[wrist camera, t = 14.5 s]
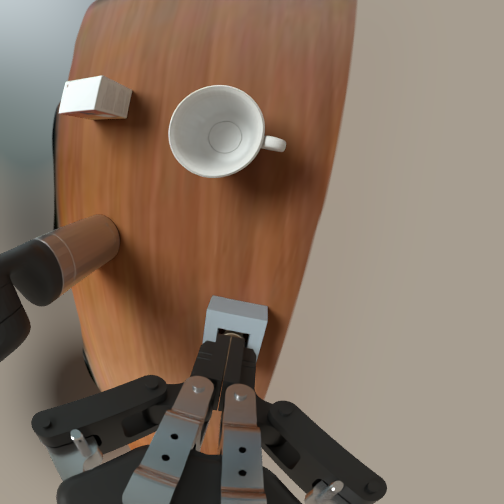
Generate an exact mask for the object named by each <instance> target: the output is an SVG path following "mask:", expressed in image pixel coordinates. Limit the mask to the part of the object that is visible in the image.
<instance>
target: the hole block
mask: <svg viewBox="0 0 504 504" xmlns="http://www.w3.org/2000/svg"><path fill="white" fill-rule="evenodd" d="M267 322H268V306H263V305H258V304H253V303H247V302H242V301H237V300H233V299H228V298H223V297H218V296H213V295H212V298H211V300H210V303H209V305H208V308H207V313H206V320H205V328H204V336H203V343H204V342H205V341H207V340H208V341H212V342H216V338H217V335H218V334H219V328H222V329H226V330H231V331H236V332H241V333H247V334H248V338H247V342H245V343H244V347H245V348H250V349H253V350H254V352H255V354H256V362H257V358H258V354H259V351H260V347H261V344H262V340H263V336H264V333H265V329H266V325H267Z"/></svg>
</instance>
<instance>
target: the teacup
mask: <svg viewBox="0 0 504 504" xmlns="http://www.w3.org/2000/svg"><path fill="white" fill-rule="evenodd" d="M264 134H265V124H264V118H263V115H262V112H261V110H260V108H259V107H258V105H257V104H256V102H255V101H254V100H253V99H252V98H251V97H250V96H249V95H247V94H246V93H245V92H243V91H241V90H239V89H237V88H234V87H231V86H225V85H214V86H208V87H204V88H201V89H199V90H197V91H195V92H193V93H191V94H190V95H188V96H187V97H186V98H185V99H184V100H183V101H182V102H181V103H180V104H179V105H178V106H177V108H176V110H175V111H174V113H173V116H172V118H171V121H170V125H169V143H170V147H171V150H172V152H173V154H174V156H175V158H176V159H177V160H178V162H179V163H180V164H181V165H182V166H183V167H185V168H186V169H187V170H189V171H190V172H192V173H194V174H196V175H199V176H203V177H208V178H218V177H225V176H229V175H231V174H234V173H236V172H238V171H240V170H242V169H243V168H245V167H246V166H247V165H248V164H250V163H251V162H252V160H253V159H254V158H255V157H256V155H257V154H258V152H259V150H260V148H263V149H267V150H272V151H277V152H283V151H284V150H285V148H286V142H285V141H284V140H282V139H279V138H276V137H272V136H264Z"/></svg>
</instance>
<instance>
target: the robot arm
mask: <svg viewBox="0 0 504 504" xmlns="http://www.w3.org/2000/svg"><path fill="white" fill-rule="evenodd" d="M119 246H120V238H119V233H118V230H117V228H116V226H115V225H114V223H113V222H112V221H111V220H110V219H109V218H107V217H106V216H103V215H93V216H90V217H88V218H85V219H82V220H79V221H77V222H74V223H71V224H69V225H66V226H64V227H61V228H59V229H56V230H54V231H51V232H49V233H46V234H44V235H42V236H39V237H37V238H35V239H33V240H30V241H28V242H26V243H24V244H22V245H20V246H17V247H15V248H13V249H11V250H9V251H6V252H4V253H2V254H0V362H1V361H2V360H4V359H5V358H6V357H7V356H8V355H10V354H11V353H12V352H13V351H14V350H15V349H17V348H18V347H19V346H20V345H21V344H22V343H23V341H24V340H25V339H26V338H27V336H28V334H29V332H30V328H31V326H30V321H29V319H28V316H27V314H26V312H25V310H24V308H23V306H22V304H21V301H20V299H19V297H18V295H17V292H16V290H15V288H14V286H15V287H16V288H17V289H18V290H19V291H20V292H21V293H22V295H23V296H24V297H25V298H26V299H27V300H28V301H30V302H31V303H33V304H35V305H37V306H46V305H49V304H50V303H52V302H53V301H54V300H56V299H57V298H58V297H60V296H61V295H62V294H64V293H65V292H66V291H68V290H69V289H70V288H72V287H73V286H74V285H76V284H77V283H78V282H80V281H81V280H83V279H84V278H85V277H87V276H88V275H90V274H91V273H92V272H94V271H95V270H97V269H98V268H100V267H101V266H103V265H104V264H106V263H107V262H108V261H110V260H111V259H113V258H114V257H115V256H116V254H117V253H118V250H119ZM230 339H231V336H229V335H223V334H218V335H217V338H216V342H212V341H208V340H207V341H205V342H204V343H203V344H202V345H201V347H200V350H199V353H198V356H197V358H196V361H195V364H194V367H193V370H192V373H191V376H190V377H189V378H188V379H186V380H185V382H183V383H180V384H166V382H165V381H164V380H163V379H162V378H160V377H158V376H155V375H147V376H144V377H141V378H138V379H136V380H133V381H131V382H128V383H125V384H123V385H120V386H117V387H115V388H112V389H109V390H106V391H104V392H101V393H98V394H95V395H92V396H89V397H86V398H83V399H80V400H77V401H74V402H71V403H68V404H64V405H61V406H58V407H54V408H51V409H47V410H44V411H41V412H38V413H36V414H35V415H34V416H33V418H32V422H31V423H32V428H33V430H34V432H35V433H36V434H37V436H38V437H39V439H40V441H41V442H42V444H43V445H44V446H45V448H46V449H47V450H48V452H49V454H50V456H51V459H52V461H53V463H54V465H55V467H56V469H57V471H58V473H59V475H60V476H61V479H62V480H63V482H62V483H61V484H60V486H59V488H58V490H57V497H56V499H57V504H302V503H301V502H300V501H299V500H298V499H297V498H296V497H295V496H294V495H293V494H292V493H291V492H290V491H289V490H288V488H287V487H286V486H285V485H284V484H283V483H282V482H281V481H280V480H279V479H278V478H277V476H276V475H275V474H273V473H272V472H271V471H270V470H268V469H267V468H265V467H263V466H262V449H264V451H265V452H266V453H267V454H268V455H269V456H270V457H271V458H272V459H273V460H274V462H275V463H276V464H277V465H278V466H279V467H280V468H281V469H282V470H283V471H284V472H285V473H286V474H287V475H288V476H289V477H290V478H291V479H292V480H293V481H294V482H295V483H296V484H297V485H298V486H299V487H300V488H301V489H302V490H303V491H304V492H305V493H306V496H305V504H373V503H375V502H376V501H378V500H379V499H381V498H382V497H383V496H384V495H385V493H386V490H387V486H386V483H385V481H384V480H383V479H382V478H381V477H380V476H378V475H377V474H376V473H374V472H373V471H372V470H370V469H369V468H368V467H367V466H365V465H364V464H363V463H362V462H360V461H359V460H358V459H356V458H355V457H354V456H353V455H352V454H350V453H349V452H348V451H347V450H345V449H344V448H343V447H342V446H341V445H340V444H338V443H337V442H336V441H335V440H334V439H333V438H331V437H330V436H329V435H328V434H327V433H326V432H325V431H323V430H322V429H321V428H320V427H319V426H318V425H317V424H316V423H314V422H313V421H312V420H311V419H310V418H309V417H308V416H307V415H306V414H305V413H304V412H302V411H301V410H300V409H299V408H298V407H297V406H296V405H295V404H293V403H291V402H288V401H278V402H275V403H274V404H271V403H269V402H266V401H264V400H262V399H261V398H259V397H258V396H257V394H256V393H255V389H254V387H255V371H256V354H255V352H254V350H253V349H250V348H245V347H244V343H245V338H240V337H234V336H232V339H231V344H230ZM229 345H230V349H229ZM228 350H229V354H228ZM227 356H228V359H227ZM226 362H227V364H226ZM225 367H226V369H225ZM224 372H225V374H224ZM223 377H224V379H223ZM222 382H223V385H222ZM221 387H222V391H221ZM220 392H221V397H220ZM219 397H220V403H219V409H218V411H222V414H221V420H220V427H219V440H218V453H217V455H207V454H204V453H201V452H200V448H201V445H202V442H203V439H204V436H205V433H206V430H207V427H208V424H209V420H210V418H211V415H212V411H213V410H217V407H218V402H219ZM155 431H156V433H155V435H154V437H153V439H152V441H151V443H150V445H144V446H141V447H138V448H135V449H133V450H131V451H129V452H127V453H125V454H123V455H121V456H119V457H117V458H114V459H112V460H110V461H108V462H106V463H103V464H101V465H100V463H101V462H102V459H103V454H105V453H108V452H110V451H113V450H115V449H118V448H120V447H123V446H125V445H127V444H129V443H132V442H134V441H136V440H138V439H141V438H143V437H145V436H147V435H149V434H151V433H153V432H155ZM261 447H262V449H261ZM98 465H99V466H98Z"/></svg>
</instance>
